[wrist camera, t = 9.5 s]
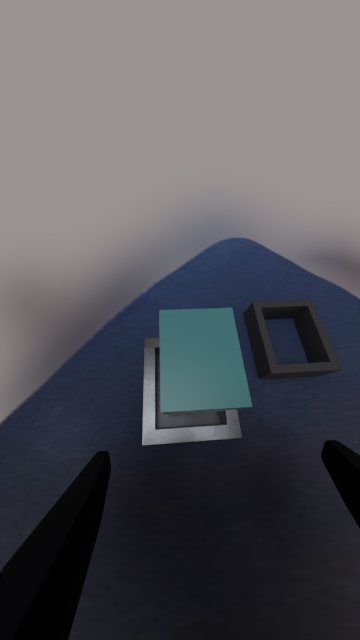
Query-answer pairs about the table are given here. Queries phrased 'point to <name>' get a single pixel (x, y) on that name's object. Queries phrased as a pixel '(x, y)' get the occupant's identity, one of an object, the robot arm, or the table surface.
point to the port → (184, 425)
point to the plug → (200, 362)
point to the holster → (310, 334)
